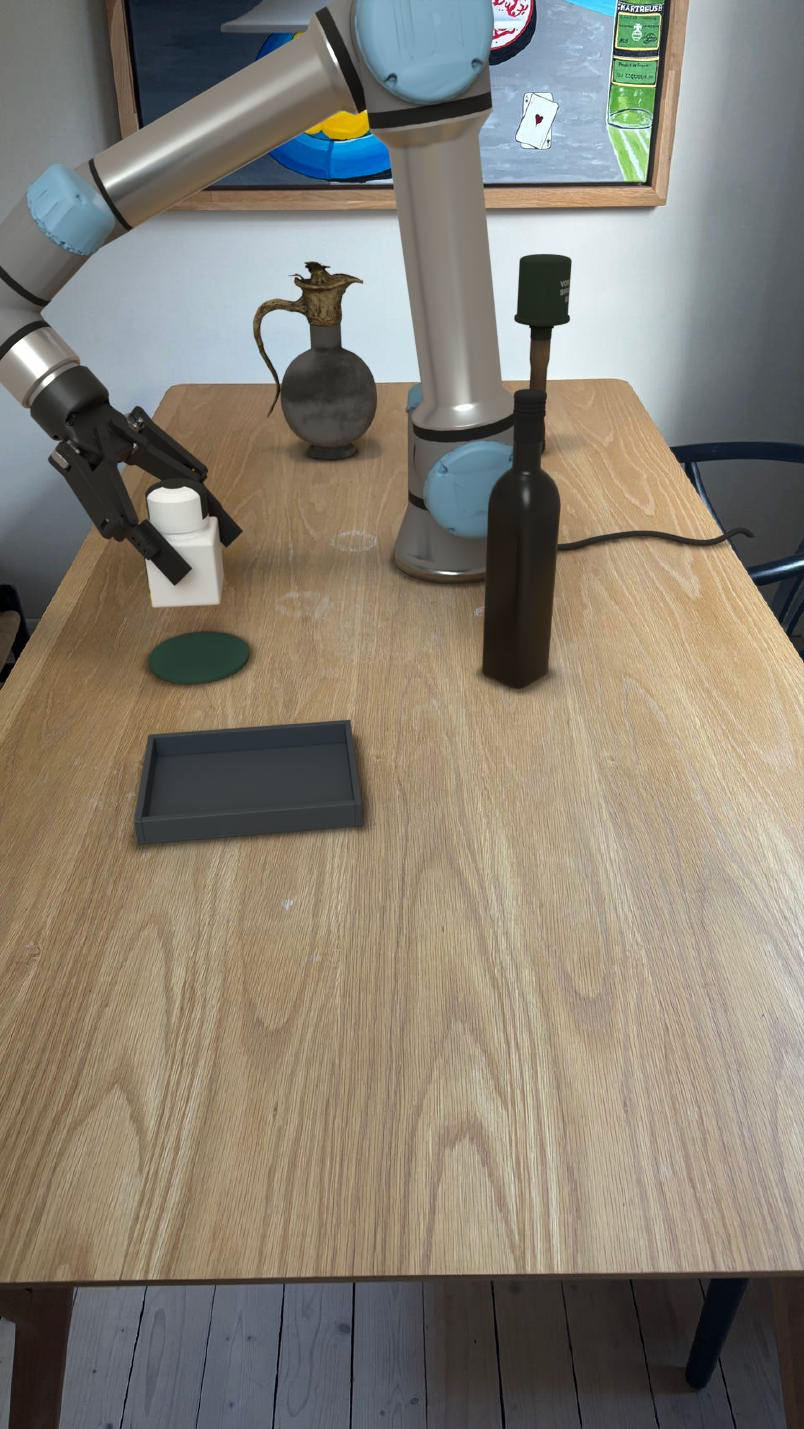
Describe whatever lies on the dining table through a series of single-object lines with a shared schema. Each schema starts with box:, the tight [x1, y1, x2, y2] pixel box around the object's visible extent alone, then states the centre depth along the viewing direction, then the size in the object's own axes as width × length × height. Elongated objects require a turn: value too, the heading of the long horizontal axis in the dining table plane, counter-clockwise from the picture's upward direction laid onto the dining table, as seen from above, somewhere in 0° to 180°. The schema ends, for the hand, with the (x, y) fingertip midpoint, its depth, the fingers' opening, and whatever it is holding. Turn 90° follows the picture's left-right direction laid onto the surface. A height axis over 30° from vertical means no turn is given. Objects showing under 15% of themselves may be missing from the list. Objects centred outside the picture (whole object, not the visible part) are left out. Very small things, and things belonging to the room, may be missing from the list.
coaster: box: [147, 630, 250, 685], centre depth 114 cm, size 11×11×1 cm
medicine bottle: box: [143, 478, 225, 609], centre depth 106 cm, size 7×7×12 cm
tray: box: [133, 719, 364, 845], centre depth 93 cm, size 19×13×2 cm
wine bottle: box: [481, 388, 562, 690], centre depth 102 cm, size 6×6×30 cm
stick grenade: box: [513, 253, 573, 455], centre depth 162 cm, size 8×9×30 cm
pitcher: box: [252, 260, 378, 461], centre depth 163 cm, size 11×19×30 cm, turn 97°
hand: (209, 557), depth 106 cm, fingers closed on medicine bottle, 9 cm apart
